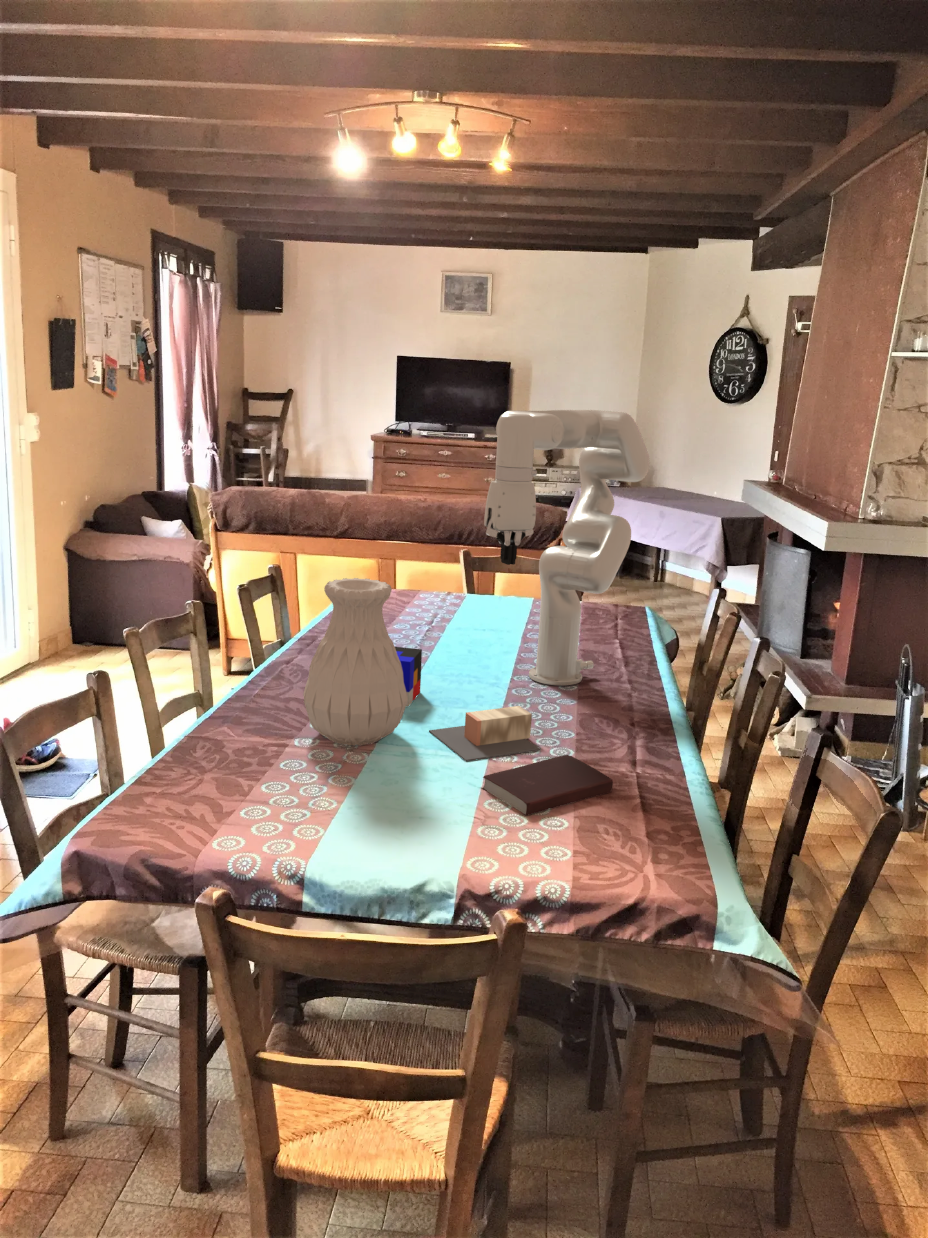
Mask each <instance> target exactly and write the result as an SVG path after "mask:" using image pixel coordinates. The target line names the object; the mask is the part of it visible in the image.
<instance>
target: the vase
mask: <svg viewBox="0 0 928 1238" xmlns="http://www.w3.org/2000/svg"><path fill="white" fill-rule="evenodd" d="M323 588H324V593H325V596H326V597H327V598H328V600H329V601H330V602H331V604H332V605H333V606H332V607H333V608H332V614H331V618H330V621H329V624H328V626H327V629H326V630H325V634H324V636H323V637H322V638H321V640H320V641H319V643H318V646H317V648H316V651H315V653H314V655H313V657H312V659H311V662H310V665H309V671H308V677H307V680H306V683H305V687H304V691H303V694H302V696H303V703H304V707H305V709H306V715H307V716H308V720H309V723H310V724H311V726H312V729H314V730H315V731H316V732H317V733H319V734H320V735H322V736H324V737H326V739H328V740H329V741H330V742H333V743H336V744H338V745H340V744H341V745H342V746H345V745H346V746H353V747H354V746H360V747H361V746H365V745H371V744H374V743H377V742H379V741H380V740H381V739H383V738H385V737H387V736H389V735H391V734H392V733H393V732H394V731H395V730H396V729H397V728H398V726H399V725H400V723H401V722H402V721H401V720H402V718H403V716H404V713H405V711H406V707H407V706H406V704H407V701H408V697H407V693H406V688H405V685H404V680H403V670H402V666H401V662H400V660H399V657H398V655H397V652H396V649H395V647H396V646H395V645H394V642H393V640H392V639H391V637H390V635H389V633H388V629H387V627H386V624H385V620H384V615H383V608H384V607H383V606H384V604H385V603H386V602H387V601H388V600H389V598H390V596H391V593H392V586H391V585H390V584H388V582H385V581H380V580H378V579H370V578H359V577H354V578H347V577H346V578H342V579H337V578H336V579H333V581H327V583H326V584H325V586H324V587H323Z"/></svg>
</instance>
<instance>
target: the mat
mask: <svg viewBox="0 0 928 1238" xmlns="http://www.w3.org/2000/svg"><path fill="white" fill-rule="evenodd" d="M428 733H430V734H431V735H432V736H433V737H435V738H436V739H437V740H438V741H440V742H441V743H442V744H444V745H445V746H446V747H447V748H449V749H450V750H451V751H452V750H453V751H452V752H453V753H455V754H456V755H457V754H458V755H457V756H458V757H459V758H461V759H462V760H463V759H464V760H463V761H465V762H471V761H476V759H478V760H484V759H491V758H497V757H505V756H510V755H517V754H524V753H531V752H536V751H537V752H538V751H541V748H540V747H539V746H537V745H535V744H534V743H533V742H531V741H530V740H528V738H527V739H520V740H513V741H506V742H499V743H492V744H485V745H478V746H476V745H475V744H473V743H472V742H471V741H469V740H468V739H467V738H465V737H464V735H465V725H458V726H451V727H450V726H449V727H445V728H437V729H430V730H428Z"/></svg>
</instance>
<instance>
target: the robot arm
mask: <svg viewBox="0 0 928 1238" xmlns="http://www.w3.org/2000/svg"><path fill="white" fill-rule="evenodd" d="M495 430H496V432H495V433H496V436H497V441H496V457H495V458H496V459H495V474H494V475H495V477H494V480H491V481H490V484H489V487H488V491H487V497H486V502H485V510H484V518H483V519H484V520H483V521H484V523H483V524H484V527H486V532H485V534H486V536H489V537H492V538H496V540H497V541H498V543H499V544H500V555H499V556H500V561H501V563H502V564H504V565H516V560H517V557H518V556H517V554H518V546H519V545H520V544H521V541H522V540H523V539H524V538H525V537H528V536H532V535H533V534H534V528H535V526H536V519H537V517H536V516H537V500H536V498H537V497H536V489H535V488H536V487H535V483H534V482H533V481H532V480H533V477H536V476H538V471H537V469H534V465H533V464H534V463H533V462H534V450H536V451H537V450H538V451H539V450H540V451H549V450H553V449H556V450H557V449H558V450H559V449H561V450H572V449H573V450H574V449H581V451H580V454H579V458H578V466H579V467H578V468H579V478H580V479H579V480H580V487H581V488H580V496H579V497H578V499H577V502H576V504H575V506H574V508H573V510H572V511H571V514H570V516H569V517H568V519H567V521H566V523H565V525H564V527H563V530H562V541H563V544H564V545H555V546H554V545H553V546H551V547H550V546H549V547H548V548H546V549H545V550H544V551H543V552H542V553H541V555H540V558H539V561H538V573H539V580H540V581H539V582H540V606H539V607H540V608H539V619H538V620H539V621H538V622H539V624H538V636H537V650H536V664H535V667H533V668H531V669H529V671H528V676H529V678H530V679H531V680H533V681H535V682H537V683H540V684H545V685H550V686H564V687H565V686H573V685H576V684H579V683H580V682H581V681H582V680H583V675H582V673H581V671H583V670H590V669H593V668H594V666H595V664H594V662H593V660H583V659H581V658H580V659H578V653H579V652H578V651H579V639H580V627H581V615H582V605H581V604H582V603H581V601H580V598H579V595H578V594H577V591H579V592H583V593H589V594H598V595H600V594H603V593H605V592H606V591H608V589H609V588H610V586H611V585H612V583H613V581H614V580H615V578H616V575H617V573H618V571H619V570H620V567H621V565H622V563H623V561H624V559H625V557H626V555H627V552H628V551H629V548H630V544H631V542H632V541H631V540H632V528H631V524H630V523H629V521H628V520H627V519H626V518H625V517H622V516H620V515H616V514H615V515H614V514H612V512H613V510H614V507H615V499H614V496H613V494H612V491H611V490H610V488H609V487H608V485H607V483H606V480H611V481H616V482H617V481H618V482H619V481H620V482H626V483H628V482H629V483H637V482H640V481H642V480H644V479H645V477H646V476H647V474H648V472H649V470H650V456H649V451H648V448H647V445H646V444H645V443H646V442H645V441H644V439H643V438H644V437H643V436H642V433H641V431H640V428H639V426H638V424H637V422H636V421H635V419H634V418H633V417H632V415H630V414H629V413H627V412H625V411H611V410H610V411H609V410H599V409H598V410H596V409H551V410H549V409H548V410H507V411H505V412H504V413H502V414H501V415H500V416H499V418H498V420H497V423H496V426H495Z"/></svg>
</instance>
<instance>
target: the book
mask: <svg viewBox="0 0 928 1238" xmlns="http://www.w3.org/2000/svg"><path fill="white" fill-rule="evenodd" d="M482 778H483V779H484V783H483V784H484V785H483V787H482V791H486V790H487V791H486V792H488V793H489V794H491V795H492V796H494V797H495V798H498V800H499V799H500V800H501V801H502V802H504V803H506V804H507V805H509V806H511V807H512V808H514V809H516V810H518V811H519V812H521V813H522V814H524V815H525V816H531V815H534V814H537V813H541V812H545V811H548V810H552V809H555V808H558V807H561V806H565V805H570V804H573V803H576V802H580V801H583V800H586V799H590V798H595V797H598V796H603V795H605V794H611V793H612V791H613V786H614V780H613V779H612V778H611V777H609V776H608V775H606V774H604V773H603V772H601V771H599V770H598V769H596V768H595V767H592V766H590V764H587V763H585V762H584V761H582V760H580V759H578V758H577V757H574V756H572V755H569V754H563V755H560V756H555V757H550V758H546V759H544V760H540V761H536V762H533V763H529V764H525V765H522V766H517V767H514V768H510V769H506V770H501V771H497V772H493V773H489V774H486V775H484V776H483V777H482Z"/></svg>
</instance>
